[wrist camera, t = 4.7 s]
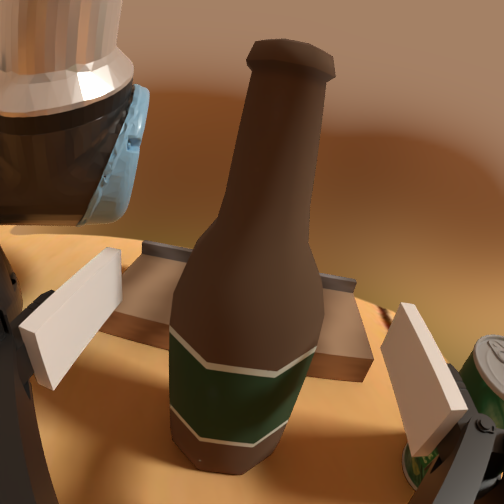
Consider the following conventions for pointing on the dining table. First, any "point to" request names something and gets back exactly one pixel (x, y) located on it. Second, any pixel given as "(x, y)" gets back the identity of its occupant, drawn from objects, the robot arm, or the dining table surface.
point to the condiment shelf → (160, 302)
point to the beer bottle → (253, 274)
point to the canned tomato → (481, 391)
